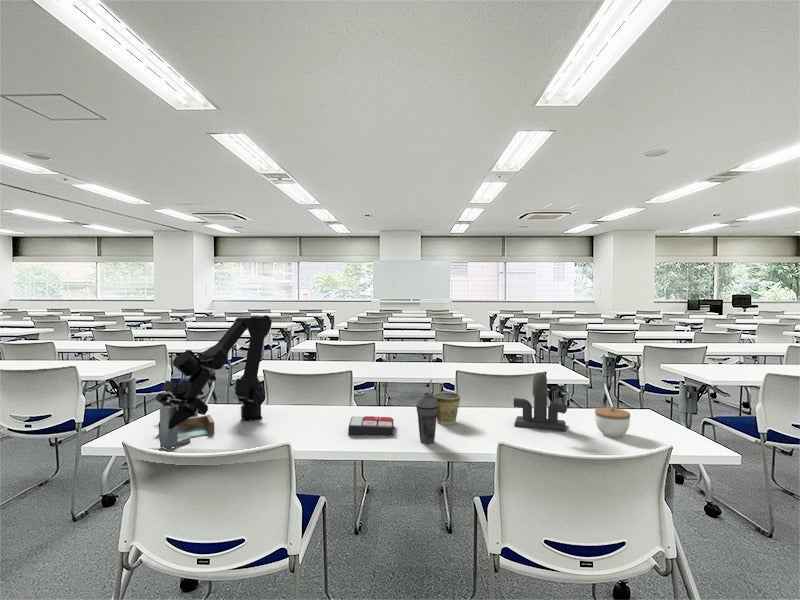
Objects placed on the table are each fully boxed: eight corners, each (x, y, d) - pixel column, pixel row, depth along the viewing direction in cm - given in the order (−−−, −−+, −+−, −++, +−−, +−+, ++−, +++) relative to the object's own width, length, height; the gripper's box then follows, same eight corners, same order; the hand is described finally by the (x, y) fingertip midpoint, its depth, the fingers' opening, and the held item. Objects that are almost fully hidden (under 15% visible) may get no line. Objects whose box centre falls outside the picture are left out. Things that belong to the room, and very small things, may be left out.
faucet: (510, 432, 149) (510, 374, 148) (514, 419, 164) (515, 366, 163) (567, 439, 143) (567, 378, 142) (566, 425, 157) (567, 369, 157)
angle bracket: (168, 449, 133) (168, 409, 133) (160, 447, 135) (159, 407, 134) (190, 442, 140) (189, 403, 139) (181, 440, 142) (181, 401, 141)
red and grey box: (393, 425, 146) (348, 423, 145) (392, 438, 146) (348, 436, 146) (393, 416, 157) (351, 414, 156) (392, 428, 157) (351, 426, 157)
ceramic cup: (457, 427, 154) (457, 399, 154) (429, 424, 157) (430, 397, 157) (463, 417, 167) (463, 391, 166) (438, 415, 170) (438, 389, 169)
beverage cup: (414, 438, 143) (414, 377, 143) (436, 437, 144) (436, 377, 143) (417, 446, 136) (417, 382, 136) (440, 445, 137) (440, 381, 136)
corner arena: (209, 425, 156) (209, 414, 156) (214, 433, 148) (214, 422, 148) (158, 433, 148) (158, 422, 148) (160, 442, 139) (160, 430, 139)
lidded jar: (588, 429, 152) (589, 403, 152) (618, 429, 153) (618, 402, 152) (604, 440, 141) (605, 411, 141) (636, 439, 142) (637, 411, 142)
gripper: (160, 367, 142) (126, 409, 133) (199, 372, 134) (167, 417, 124) (182, 387, 150) (151, 428, 140) (220, 392, 141) (191, 436, 132)
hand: (164, 427), depth 134 cm, fingers closed on angle bracket, 4 cm apart
